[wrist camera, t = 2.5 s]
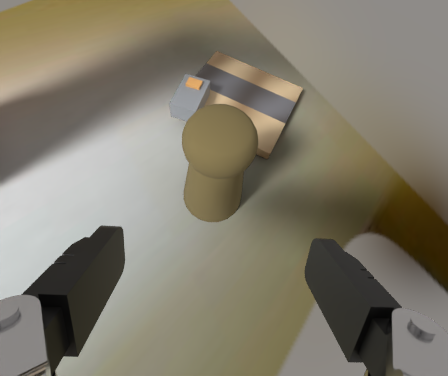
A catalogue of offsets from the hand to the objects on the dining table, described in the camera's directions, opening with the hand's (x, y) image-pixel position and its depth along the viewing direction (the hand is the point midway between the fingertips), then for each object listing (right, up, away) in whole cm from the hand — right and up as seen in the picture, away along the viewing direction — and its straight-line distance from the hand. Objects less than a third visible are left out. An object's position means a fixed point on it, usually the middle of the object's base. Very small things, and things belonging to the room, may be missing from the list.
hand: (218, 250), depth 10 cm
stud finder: (-4, +13, +18) cm, 22 cm away
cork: (-1, +2, +15) cm, 15 cm away
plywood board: (+2, +14, +20) cm, 24 cm away
